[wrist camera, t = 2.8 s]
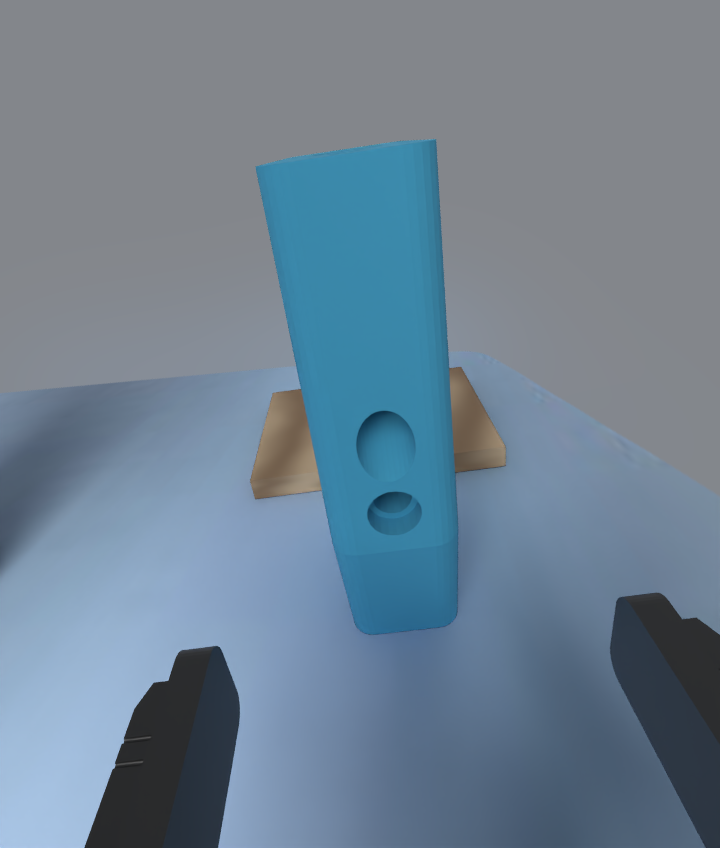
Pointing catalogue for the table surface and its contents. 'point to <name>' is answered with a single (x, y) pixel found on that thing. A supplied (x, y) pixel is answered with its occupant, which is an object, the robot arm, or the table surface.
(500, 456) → the oak board
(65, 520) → the table surface
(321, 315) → the block
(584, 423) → the table surface
